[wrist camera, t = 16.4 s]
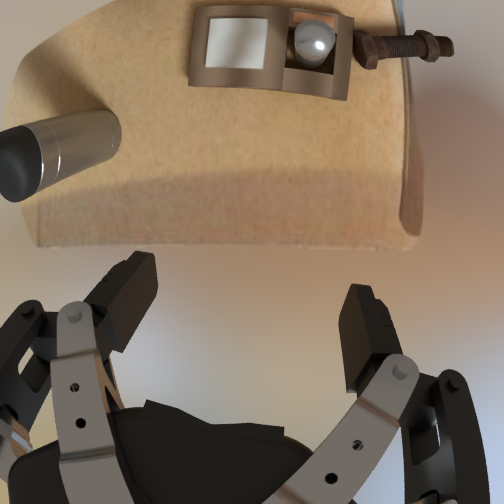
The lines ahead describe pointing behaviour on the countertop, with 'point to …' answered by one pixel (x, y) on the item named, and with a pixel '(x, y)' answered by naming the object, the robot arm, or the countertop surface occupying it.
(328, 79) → the recessed board
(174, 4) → the countertop surface
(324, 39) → the peg
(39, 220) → the countertop surface
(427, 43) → the bolt
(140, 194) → the countertop surface
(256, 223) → the countertop surface
